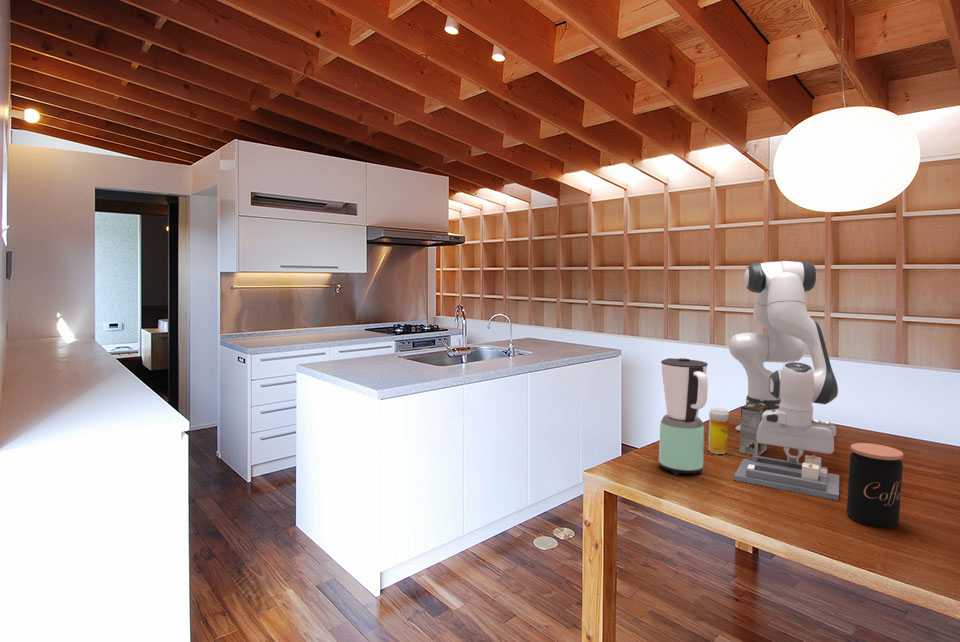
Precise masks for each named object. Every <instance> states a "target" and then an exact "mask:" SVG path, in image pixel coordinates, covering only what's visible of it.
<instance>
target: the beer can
mask: <svg viewBox="0 0 960 642" xmlns="http://www.w3.org/2000/svg"><path fill="white" fill-rule="evenodd" d="M728 410H729V409H727V408H722V407H711V408H710V410H709V412H708V413H709V419H708V420H709V421H708V442H707V443H708V445H707V449H708V451H709V452H710V454H713V453H714V454H713V455H718V454H723V455H725V453H726V454H727V452H728V447H729V446H728V445H729V443H728V441H729V418H730V413H729V411H728Z"/></svg>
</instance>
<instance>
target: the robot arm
mask: <svg viewBox="0 0 960 642" xmlns="http://www.w3.org/2000/svg"><path fill="white" fill-rule="evenodd" d="M743 276H744V277H743V282H744V285H745V287H746V289H747V290H748V291H749V292H751V293H755V294H754V306H753V313H752V314H753V315H752V317H753V320H754V322H755V323H756V324H757V325H758V326H759V327H762V328H764V329H766V330H768V331H769V332H766V333H765V332H743V333H736V334H734V335H733V336H732V337H730V341H729V343H728V349H729V350H728V351H729V353H730V354H731V356H732V357H733V358H734V359H735V360H737V361H738V363H740V364H741V365H742V367H743V368H744V370H745V372H746V375H747V376H746V377H747V395H746V397H745V398H746V399H745V401H746V402H745V405H746V404H748V403H757V404H762V405H767V406H768V410H767V411H765V412H764V413H763V414H762V421H761V422H760V424H759V427H758V430H757V437H756V440H757V441H758V443H762V444H767V446H768V445H769V446H775V447H781V448H783V451H784V453H785V455H786V457H787V460H786V461H787V462H792V463H800V462H799V461H800V458H801V457H802V456H803V454H804V451H807V452H814V453H821V454H826V455H830V454H832V453H834V451H835V444H834V443H835V442H834V438H835V437H836V435H837V427H836V425H835V424H833V423H832V422H831V421H828V420H826V421H824V420H823V421H822V420H820V419H813V418H814V417H813V416H814V406H813V404H818V405H820V404H821V405H827V404H830V403H831V402H833V400H834V399H836V398H837V397H838V393H839V387H838V381H837V378H836V376H835V374H834V372H833V368H832V365H831V361H830V357H829V353H828V349H827V345H826V341H825V339H824V338H825V337H824V334H823V331H822V329H821V327H820V324H819V323H818V321H815V320H813V318H812V317H811V315H810V314H809V312H808V310H807V301H806V292H809V291H812V289H813V288H814V287H816V283H817V280H818V273H817V269H816V266H815V265H814V264H813V263H812V262H809V261H808V262H807V261H802V260H801V261H791V260H780V261H769V262H768V261H767V262H755V263H751V264H749V265H748V266H747V267H746V269H745V271H744V274H743ZM806 346H807V347H808V349H809V350H808V351H809V353H810V358H811V362H812V365H813V368H812V367H811V366H810V365H808V364H806V363H802V362H799V361H800V360H801V359H802V358H803V357H804V355H805V352H806ZM764 363H783V364H784V363H785V364H784V365H783V367H782V368H781V369H778V370H775V371H774V372H773V371H771V370H769V369H767V368H766V367H765V365H764ZM740 425H741V423H739V425H737V426H735V430H736V431H739V432H740ZM790 449H796V450H797V453H798V454H797V455H791V453H790V452H789V451H790Z"/></svg>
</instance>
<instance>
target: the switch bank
mask: <svg viewBox="0 0 960 642" xmlns="http://www.w3.org/2000/svg"><path fill="white" fill-rule="evenodd" d="M803 463H804V462H801V463H800V462H799V463H792V462H787V460H784V459H779V458H772V457H767V456H761V455H759V456H755V455H752V457H751V459H748V458H742V461H740V465H739V466H738V467H737V470H736V471H735V474H734V475H733V481H734V480H736V481H735V482H740V481H741V482H740V483H745V482H747V483H746V484H750V483H751V484H750V485H755V484H757V485H756V486H760V485H762V487H765V486H767V487H766V488H772V489H776V490H782V491H786V492H791V491H792V493H797V494H803V495H808V496H812V497H817V498H818V497H819V498H823V499H827V498H828V500H832V499H833V500H834V501H838V500H839V498H840V497H839V496H840V475H839V474H834V473H829V472H828V469H829V468H828V467H825V466H821V470H820V473H819V477H818V481H814V480H809V479H803V478H801V477H802V464H803Z"/></svg>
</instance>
